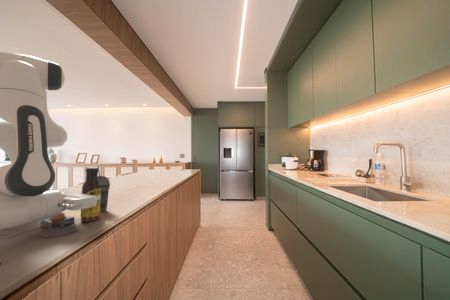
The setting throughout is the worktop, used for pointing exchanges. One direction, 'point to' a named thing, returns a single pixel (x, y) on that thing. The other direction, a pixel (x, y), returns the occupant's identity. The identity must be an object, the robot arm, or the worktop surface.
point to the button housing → (57, 222)
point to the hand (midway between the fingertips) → (93, 195)
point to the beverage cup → (103, 191)
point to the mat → (58, 231)
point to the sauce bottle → (93, 189)
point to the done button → (58, 217)
